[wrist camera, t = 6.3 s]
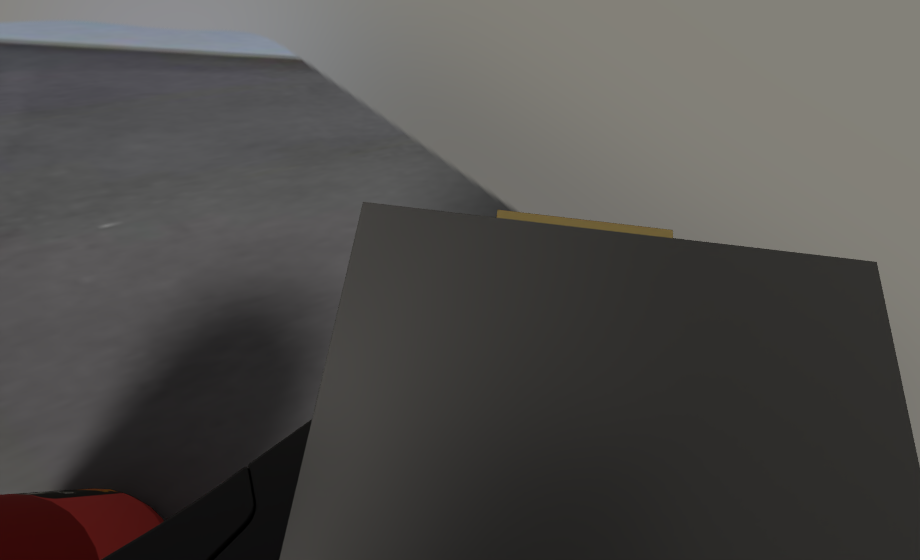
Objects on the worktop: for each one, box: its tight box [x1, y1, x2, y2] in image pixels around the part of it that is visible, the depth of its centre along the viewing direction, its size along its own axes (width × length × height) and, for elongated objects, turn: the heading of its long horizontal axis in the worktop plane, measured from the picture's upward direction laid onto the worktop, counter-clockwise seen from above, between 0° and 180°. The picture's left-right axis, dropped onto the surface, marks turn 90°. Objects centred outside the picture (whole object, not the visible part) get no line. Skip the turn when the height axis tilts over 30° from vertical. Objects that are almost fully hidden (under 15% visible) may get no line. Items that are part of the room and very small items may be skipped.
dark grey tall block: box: [279, 202, 920, 560], centre depth 9 cm, size 5×4×12 cm
